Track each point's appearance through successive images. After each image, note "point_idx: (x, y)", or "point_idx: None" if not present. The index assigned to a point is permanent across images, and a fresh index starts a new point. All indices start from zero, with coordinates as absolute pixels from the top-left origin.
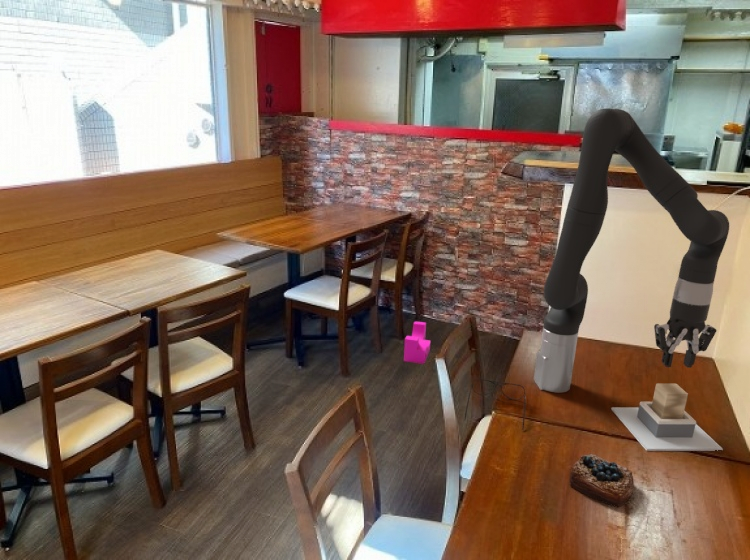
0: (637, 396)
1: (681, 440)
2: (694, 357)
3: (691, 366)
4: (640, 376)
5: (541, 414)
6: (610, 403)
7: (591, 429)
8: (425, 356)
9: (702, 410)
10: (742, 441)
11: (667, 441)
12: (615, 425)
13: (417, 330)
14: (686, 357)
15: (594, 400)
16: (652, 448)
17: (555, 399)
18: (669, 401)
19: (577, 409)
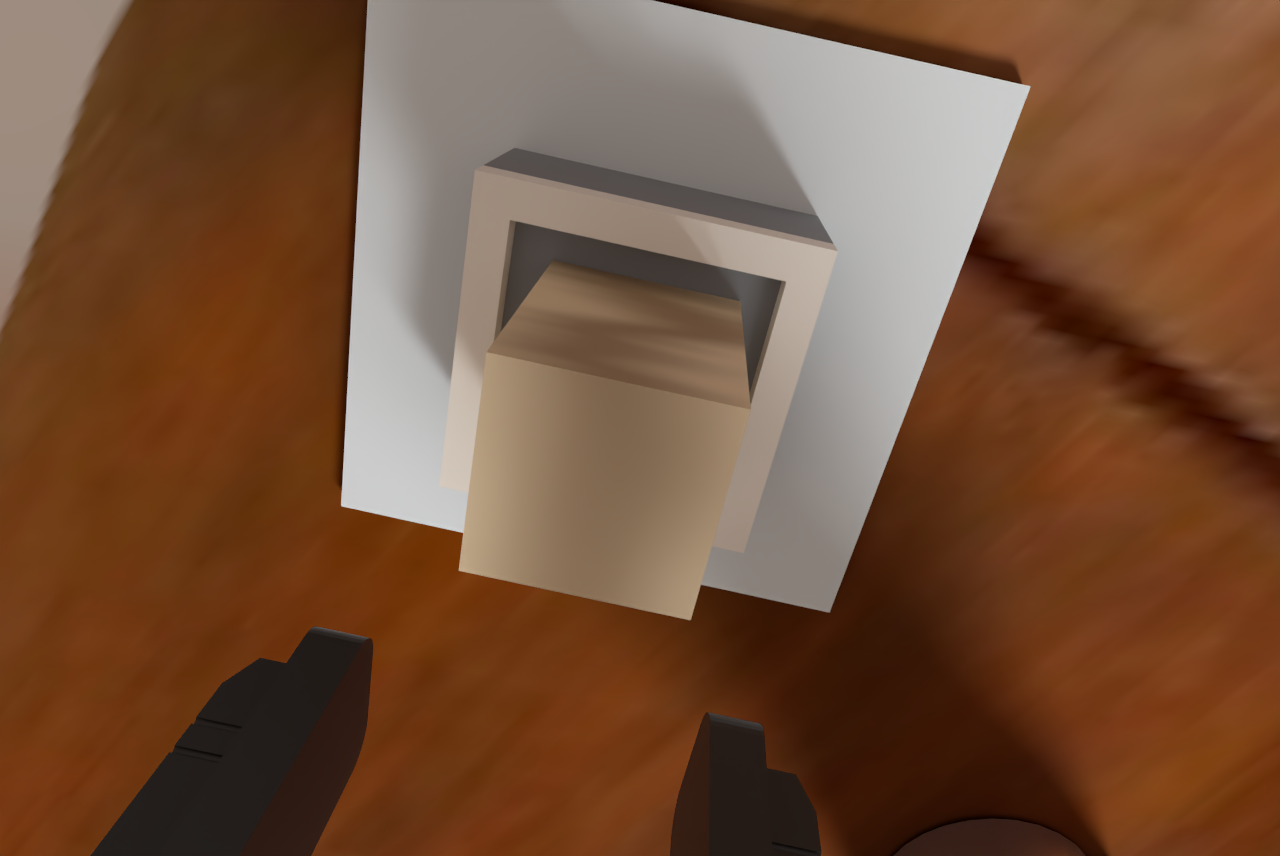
0: (523, 680)
1: (638, 129)
2: (166, 794)
3: (310, 636)
4: (343, 838)
5: None
6: (773, 658)
7: (1191, 436)
8: None
9: (175, 453)
10: (117, 30)
11: (768, 141)
12: (964, 438)
13: None
14: (300, 844)
15: (854, 707)
16: (979, 79)
17: (1109, 771)
18: (704, 360)
19: (1064, 653)
